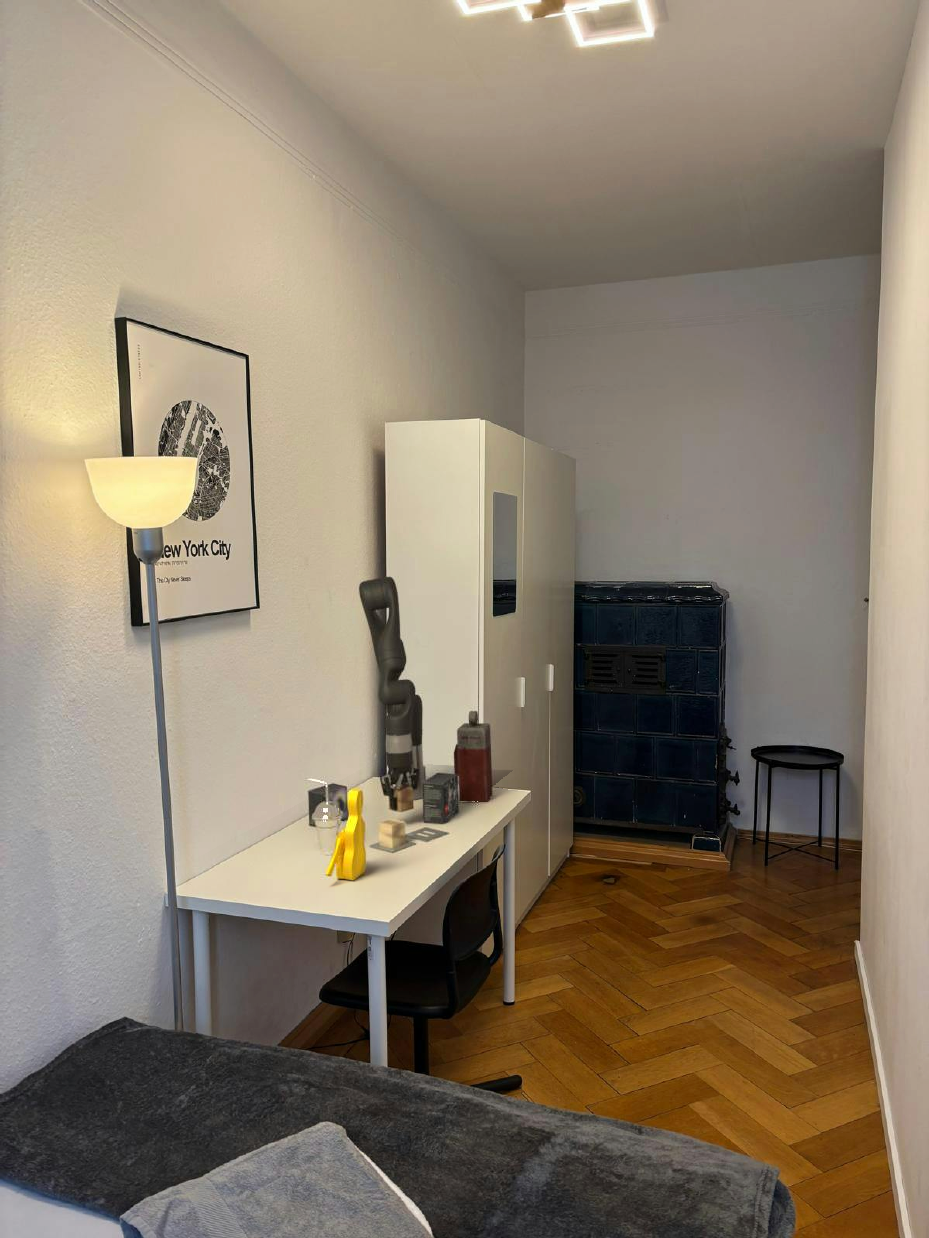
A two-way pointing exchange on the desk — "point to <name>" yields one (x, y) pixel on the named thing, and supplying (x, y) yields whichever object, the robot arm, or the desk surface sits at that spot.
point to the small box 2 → (440, 798)
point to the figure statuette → (350, 842)
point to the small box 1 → (335, 795)
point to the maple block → (392, 833)
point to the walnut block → (404, 799)
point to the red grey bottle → (473, 760)
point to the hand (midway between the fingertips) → (401, 807)
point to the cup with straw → (327, 822)
